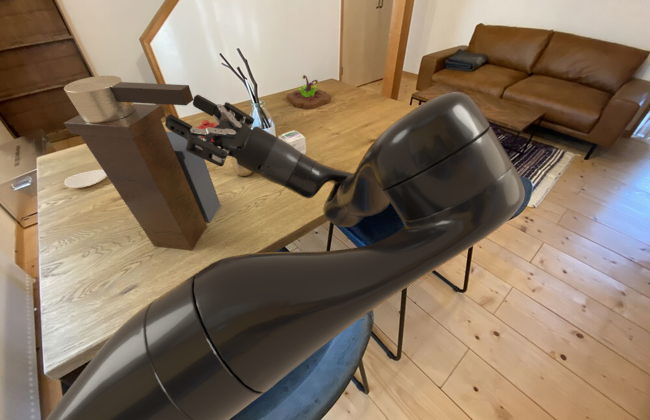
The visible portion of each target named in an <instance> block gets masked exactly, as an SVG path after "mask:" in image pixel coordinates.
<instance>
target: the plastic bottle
mask: <svg viewBox="0 0 650 420" xmlns="http://www.w3.org/2000/svg"><path fill="white" fill-rule="evenodd" d="M230 112H231V114H232V115H233V116H235V113H234V112H232V111H231V110H230ZM231 160H232V161H231V162H232V169H233V171H234V173H235V174H236V175H238V176H240V177H247V176H249V175H251V174H252V173H253V172H252V171H250V170H248V169H246V168H244V167H242V166H240V165H239V164H238V163H237V160H236V158H234V157H231Z"/></svg>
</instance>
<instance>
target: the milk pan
mask: <svg viewBox="0 0 650 420" xmlns="http://www.w3.org/2000/svg"><path fill="white" fill-rule="evenodd" d="M63 90H64V92H65V93H66V95H67V96H68V98H69V100H70V102H71V103H72V104H73V106H74V107H75V109H76V111H77V112H78V115H80V116H81V117H82V119H83V120H84V121H85V122H89V123H104V122H110V121H115V120H118V119H121V118H124V117H126V116H128V115H130V114H132V113H133V112H134V111H135V106H134V104H148V105H170V106H188V105H189V104H190V103H193V100H194V96H193V94H192V91H191V87H190V85H189V84H175V83H174V84H172V83H151V82H149V83H148V82H131V81H130V82H129V81H125V82H124V81H123V79H122V78H121V77H120V76H117V75H97V76H96V75H95V76H89V77H85V78H80V79H77V80H74V81H71V82H70V83H68V84H66V85H65V86H64V87H63Z"/></svg>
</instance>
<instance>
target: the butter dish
mask: <svg viewBox="0 0 650 420" xmlns="http://www.w3.org/2000/svg"><path fill="white" fill-rule="evenodd" d="M217 125H218V124H217V123H215V122H212V121H211V122H210V121H209V120H208V119H205V120H203V121H202V122H201V124H200V125H198V126H197V127H196V128H199V129H206V128H208V127H210V128H214V127H215V126H217ZM201 137H202V138H204V136H201ZM211 142H214V141H213V139H212V138H211Z"/></svg>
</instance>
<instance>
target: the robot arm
mask: <svg viewBox="0 0 650 420" xmlns="http://www.w3.org/2000/svg"><path fill="white" fill-rule="evenodd" d="M192 106H193V107H195V108H196V109H198V110H200V111H201V112H203V113H205V114H206V115H208V116H210V117H214V119H215V120H216V121H217V123H218V124H217V126H215V127H214V128H210V127H208V128H206V129H199V128H197V127H194V126H193V125H192V124H190V123H188V122H186V121H184V120H182V119H181V118H178V117H177V116H175V115H173V114H168V115H167V116H165V123H164V124H165V126H164V127H166V129H167V130H168V131H169V132H174V133H176V134H178V135H179V136H181V137H183V138H185V139H186V140H187V146H186V150H187V151H188V152H190V153H192V154H194V155H196V156H198V157H201V158H203V159H204V160H205V161H207V162H209V163H211V164H213V165H216V166H217V167H224V166H225V163H226V161H227V158H228V157H231V158H232V157H234V158H236V160H237V163H238V164H239V165H240V166H242V167H244V168H246V169H248V170H250V171H252V173H254V174H256V175H257V176H260V177H261V178H263V179H265V180H267V181H269V182H271V183H273V184H276V185H279V186H281V187H284V188H285V189H287V190H289V191H291V192H293V193H295V194H297V195H299V196H300V197H302V198H305V199H312V198H314V197H315V196H316V195H317V194H318V193H319V191H320V190H321V189H322V188H323V186H324V185H325V184H326V183H332V184H333V186H332V188H331V189H330V192H329V194H328V196H327V197H326V200H325V201H324V204H323V208H322V209H323V210H322V211H323V215H324V218H326V219H327V221H328V222H329V223H331V224H333V225H335V226H338V227H340V228H341V227H342V228H350V227H355V226H356V225H357V224H359V223H360V222H361V221H362V220H364V218H366V217H372V216H376V215H378V214H380V213H382V212H384V211H386V209H387V208H388V207H389V206H390V204H391V206H392V207H393V209H394V210H395V212H396V214H397V215H398V217H399V219H400V221H401V222H402V224H403V226H402V227H401V228H400V229H399V230H398V231H397V232H394V233H393V234H392V235H390V236H388V237H386V238H383V239H381V240H379V241H376V242H374V243H370V244H366V245H362V246H357V247H350V248H344V249H336V250H328V251H327V250H324V251H270V252H269V251H268V252H252V253H244V254H243V253H242V254H237V255H232V256H231V255H230V256H227V257H224V258H220V259H218V260H216V261H214V262H212V263H210V264H208V265H206V266H205V267H204V268H202V269H200V270H198V272H196V273H194V274H192V275H191V276H189V277H188V278H187V279H185V280H183V281H181V282H180V283H179V284H177V285H175V286H174V287H172V288H171V289H169V290H167V291H166V292H165V293H163V294H162V295H160V296H158V297H157V298H155V299H153V300H152V301H151V302H149V303H147V304H146V305H145V306H143V307H142V308H141V309H139V310H138V311H136V312H135V314H133V315H132V316H131V317H130V318H129V319H128V320H126V322H124V323H123V324H122V325H121V326H120V327H119V328H118V329H117V330H116V331H115V332H114V333H113V334H112V335H111V336H110V337H109V338H108V340H107V341H106V342H105V343H104V344H103V345H102V347H100V349H99V350H98V351H97V352H96V353H95V355H94V356H93V357H92V358H91V360H90V361H89V362H88V364H87V365H86V366H85V368H84V369H83V370H82V371H81V372H80V374H79V375H78V376H77V378H76V379H75V381H73V383H72V384H71V386H70V387H69V388H68V389H67V391H66V392H65V393H64V394H63V396H62V397H61V398H60V400H59V401H58V402H57V403H56V405H55V406H54V408H53V409H52V410H51V412H50V413H49V414H48V415H47V417H46V418H45V419H44V420H230V419H232V418H233V417H234V416H236V415H237V414H238V413H240V412H241V411H242V410H244V409H245V408H247V406H249V405H250V404H252V403H253V402H255V400H257V399H259V398H260V397H261V396H262V395H264V394H265V393H266V392H268V391H269V390H270V389H272V388H273V387H274V386H275V385H277V384H278V383H279V382H280V381H281V380H283V379H284V378H285V377H286V376H288V375H289V374H290V373H291V372H293V371H294V370H295V369H296V368H297V367H299V366H300V365H301V364H303V363H304V362H305V361H306V360H307V359H309V358H310V357H312V356H313V355H314V354H315V353H316V352H318V351H319V350H320V349H322V347H324V346H325V345H326V344H328V343H330V341H332V340H333V339H334V338H337V336H339V335H340V334H341V333H343V332H344V331H345V330H347V329H348V328H350V327H352V325H353V324H354V323H356V322H358V321H359V320H360V319H361V318H363V317H364V316H366V315H367V314H369V313H370V312H372V311H373V310H374V309H376V308H378V307H379V306H380V305H381V304H383V303H384V302H386V301H388V300H390V299H391V298H392V297H393V296H395V295H397V294H399V293H400V292H402V291H403V290H404V289H406V288H408V287H409V286H411V285H413V284H414V283H416V282H418V281H420V280H421V279H422V278H424V277H425V276H427V275H429V274H430V273H432V272H434V271H435V270H437V269H439V268H440V267H442V266H443V265H445V264H446V263H448V262H449V261H452V260H453V259H454V258H456V257H458V256H459V255H461V254H463V253H464V252H466V251H467V250H469V249H470V248H472V247H473V246H475V245H477V244H478V243H479V242H481V241H483V240H484V239H486V238H487V237H489V236H491V234H493V233H495V232H496V231H497V230H498V229H500V228H501V227H502V226H504V225H505V224H506V223H507V222H508V221H509V220H510V219H512V217H513V216H514V215H515V214H516V213H517V211H518V210H519V209H520V208H521V206H522V205H523V203H524V200H525V197H526V190H525V187H524V183H523V180H522V177H521V176H520V175H521V174H520V173H519V171H518V170H517V167H516V166H515V165H514V163H513V162H512V159H511V157H510V156H509V154H508V153H507V150H506V149H505V148H504V146H503V144H502V142H501V141H500V139H499V137H498V136H497V135H496V133H495V131H494V129H493V127H492V126H490V122H489V120H488V119H487V117H486V116H485V115H484V113H483V111H482V110H481V109H480V107H479V105H477V103H476V102H475V101H474V100H473V98H471V96H469V95H468V94H467V93H464V92H461V91H451V92H447V93H443V94H440V95H438V96H435V97H433V98H431V99H429V100H428V101H425V102H424V103H422V104H420V105H418V106H416V107H415V108H414V109H412V110H411V111H409V112H407V113H406V114H405V115H403V116H402V117H400V118H399V119H397V120H396V121H395V122H393V123H392V124H390V126H388V127H387V128H385V130H384V131H383V132H382V133H380V135H379V136H377V137H376V139H374V141H373V142H372V143H371V145H370V146H369V147H368V149H367V150H366V152H365V154H364V156H363V157H362V159H361V160H360V162H359V163H358V165H357V167H356V170H355V171H354V172H350V171H345V170H341V169H336V168H333V167H330V166H328V165H325V164H322V163H320V162H318V161H316V160H315V159H312V158H311V157H309V156H308V155H307V154H306V155H304V154H301V152H299V151H298V150H296V149H295V148H294V147H292V146H291V145H289V144H288V143H286V142H284V141H282V140H281V139H279V138H278V136H276V135H274V134H271V133H270V132H268V131H266V130H265V129H264V128H261V127H259V126H258V125H257V126H254V127H253V125H254V122H255V118H254V117H252V116H251V115H249V114H247V113H246V112H244V111H243V110H242V109H239V108H238V107H236V106H234V104H231V103H230V102H228V101H226V102H224V104H220V103H218V104H216V103H215V102H213V101H211V100H209V99H208V98H207V97H206V98H205V97H204V96H202V95H201V94H196V95H194V96H193V101H192ZM230 111H232V112H234V113H235V116H233V115H232V114H231V112H230ZM198 136H204V138H198ZM211 138H212V139H213V141H214V142H211ZM196 145H197V146H199V147H200V149H199V148H196V147H195V146H196Z"/></svg>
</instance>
